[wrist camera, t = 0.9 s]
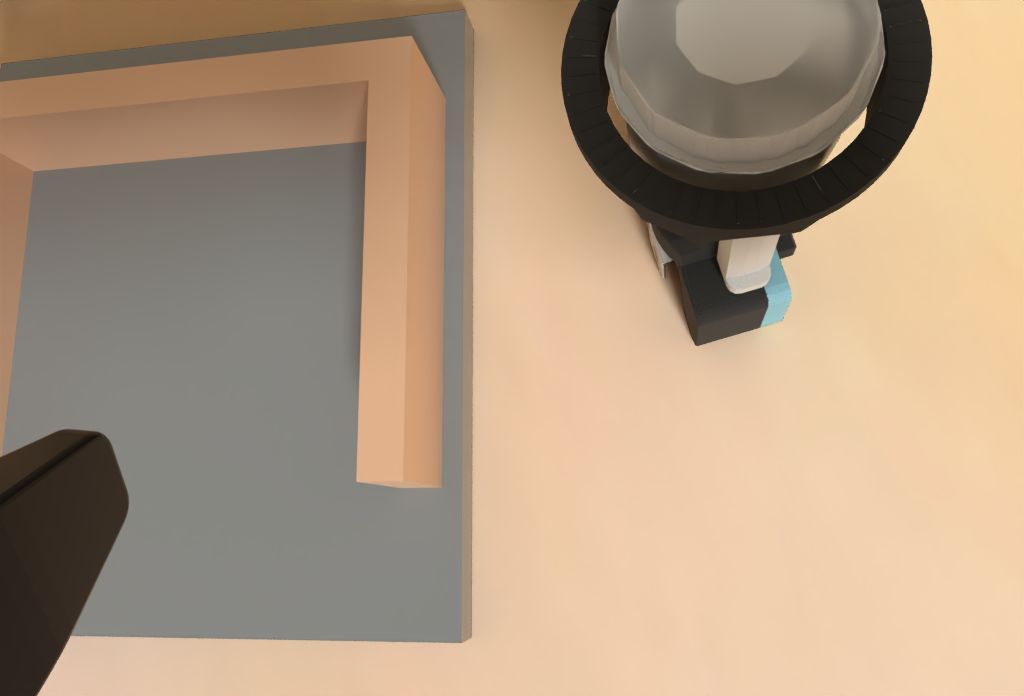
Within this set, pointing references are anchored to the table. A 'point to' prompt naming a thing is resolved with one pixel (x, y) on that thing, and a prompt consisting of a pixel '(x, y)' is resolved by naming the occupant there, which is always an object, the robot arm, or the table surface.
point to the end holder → (255, 321)
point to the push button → (741, 128)
